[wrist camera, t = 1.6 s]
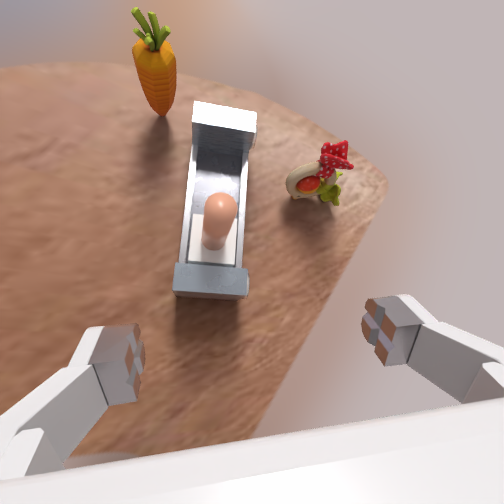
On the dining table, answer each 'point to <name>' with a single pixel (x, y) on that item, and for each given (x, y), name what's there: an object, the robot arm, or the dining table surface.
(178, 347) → the dining table surface
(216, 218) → the carriage
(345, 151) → the decorative toy figure
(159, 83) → the carrot
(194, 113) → the rail track
